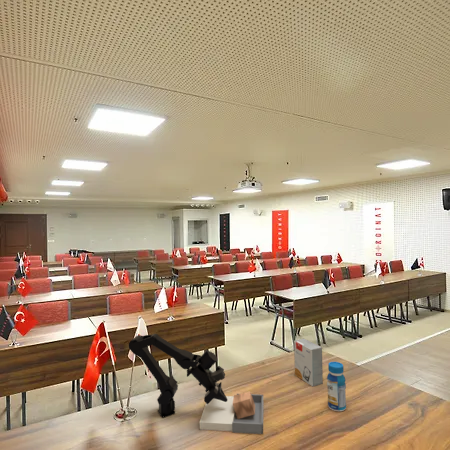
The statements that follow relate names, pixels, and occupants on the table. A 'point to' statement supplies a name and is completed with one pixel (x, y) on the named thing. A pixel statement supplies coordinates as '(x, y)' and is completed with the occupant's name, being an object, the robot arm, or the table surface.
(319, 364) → the hard drive box
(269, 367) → the table surface
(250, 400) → the block
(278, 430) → the table surface
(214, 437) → the table surface
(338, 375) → the beverage bottle
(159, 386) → the robot arm
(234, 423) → the box
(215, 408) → the cream slab
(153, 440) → the table surface
